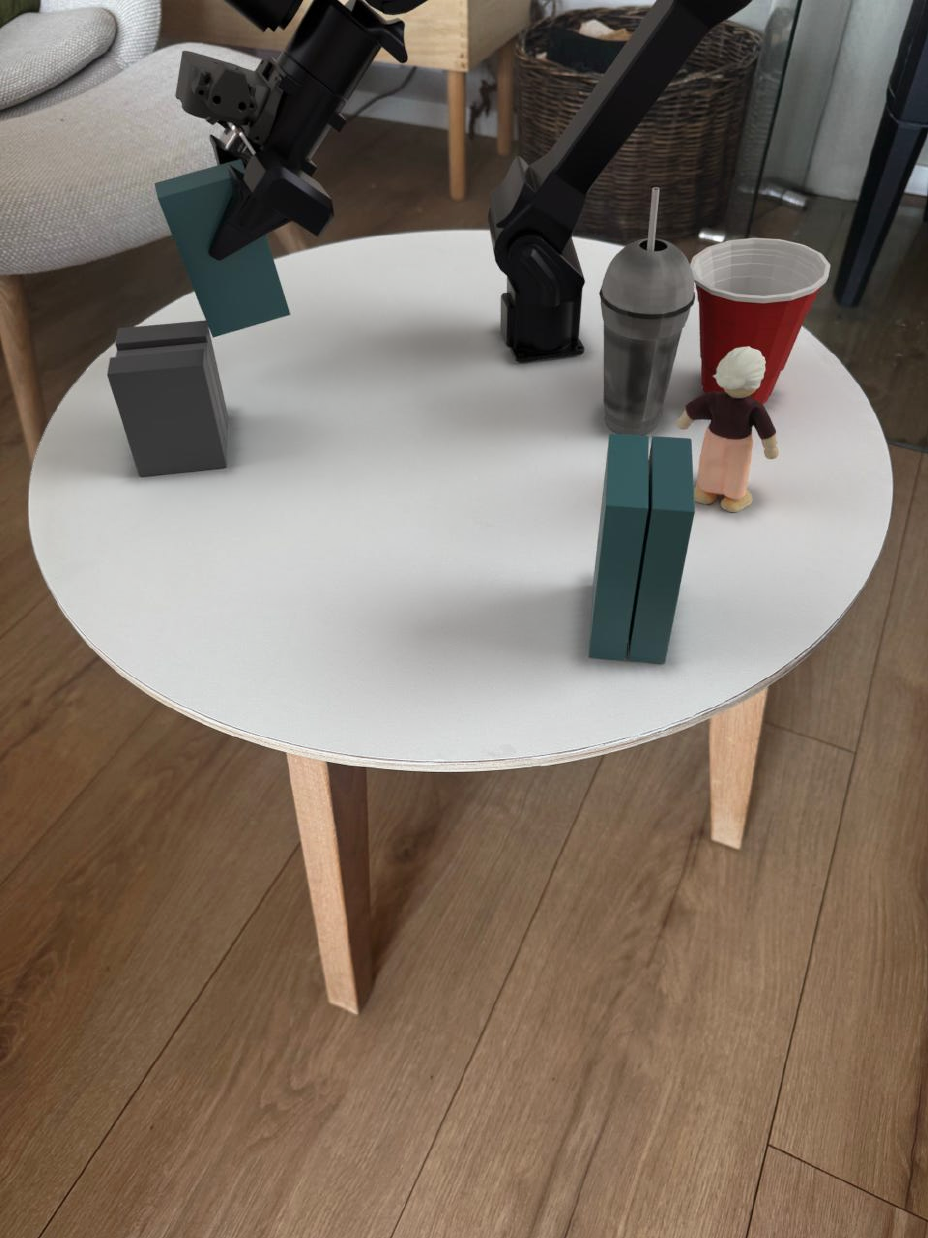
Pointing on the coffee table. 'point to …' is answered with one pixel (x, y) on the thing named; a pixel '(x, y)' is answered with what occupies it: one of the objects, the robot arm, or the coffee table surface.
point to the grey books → (170, 397)
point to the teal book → (236, 283)
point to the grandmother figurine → (731, 430)
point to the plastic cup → (754, 302)
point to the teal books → (641, 546)
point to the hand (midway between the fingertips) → (209, 249)
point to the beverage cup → (642, 327)
